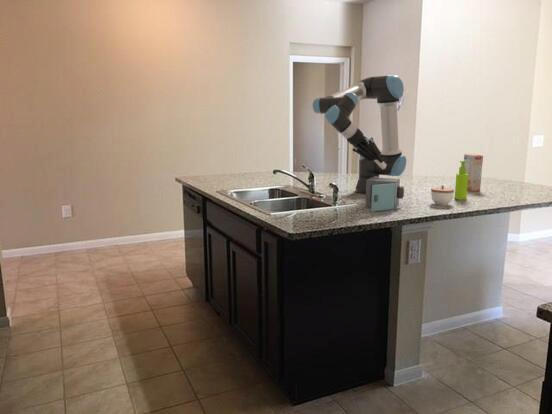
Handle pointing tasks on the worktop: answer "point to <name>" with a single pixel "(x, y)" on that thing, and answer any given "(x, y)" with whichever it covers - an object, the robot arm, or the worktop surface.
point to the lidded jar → (442, 195)
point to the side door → (384, 197)
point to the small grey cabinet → (382, 181)
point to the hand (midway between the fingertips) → (384, 167)
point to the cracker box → (473, 171)
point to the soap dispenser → (461, 182)
